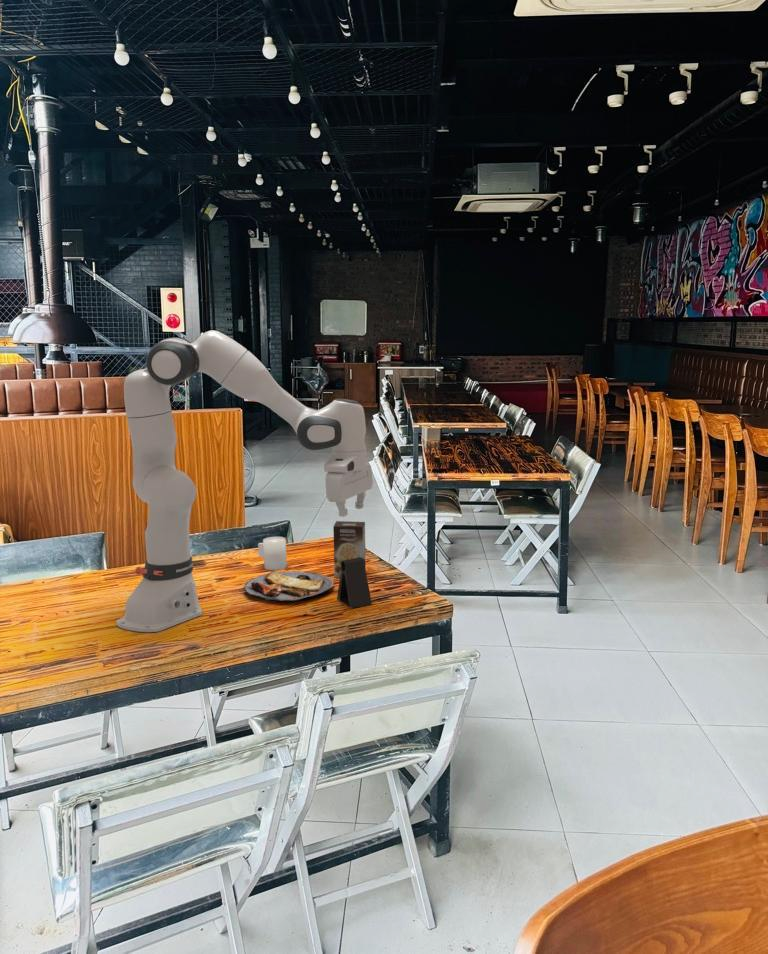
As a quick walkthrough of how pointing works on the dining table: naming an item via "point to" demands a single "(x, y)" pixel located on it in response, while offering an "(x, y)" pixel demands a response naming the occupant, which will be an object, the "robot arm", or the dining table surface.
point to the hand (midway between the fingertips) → (351, 512)
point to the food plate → (288, 585)
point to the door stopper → (354, 584)
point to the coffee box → (348, 543)
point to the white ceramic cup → (273, 553)
